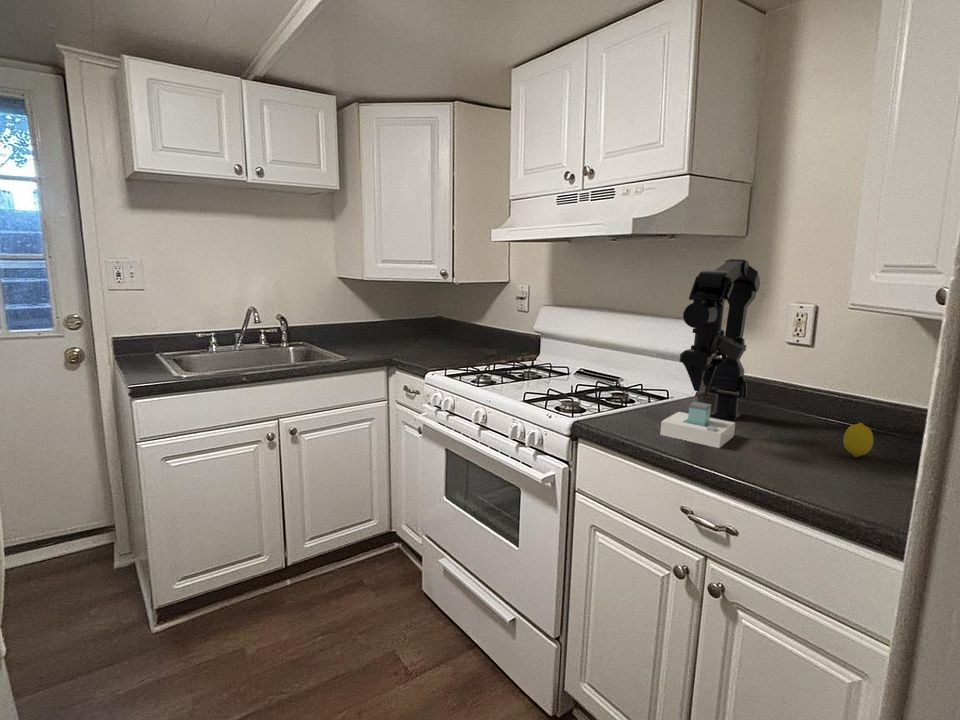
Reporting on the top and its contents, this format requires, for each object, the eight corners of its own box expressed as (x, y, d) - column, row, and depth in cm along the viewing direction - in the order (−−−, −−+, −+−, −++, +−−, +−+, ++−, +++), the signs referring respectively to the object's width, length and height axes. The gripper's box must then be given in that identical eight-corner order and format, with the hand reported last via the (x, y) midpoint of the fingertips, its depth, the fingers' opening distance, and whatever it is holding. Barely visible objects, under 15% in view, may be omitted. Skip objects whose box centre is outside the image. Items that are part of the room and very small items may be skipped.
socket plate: (677, 424, 146) (678, 409, 145) (733, 436, 138) (735, 420, 137) (660, 434, 137) (661, 418, 136) (719, 448, 128) (721, 431, 128)
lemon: (865, 454, 127) (871, 421, 126) (873, 463, 122) (879, 428, 120) (838, 451, 129) (843, 418, 127) (844, 459, 124) (850, 424, 122)
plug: (691, 432, 140) (694, 401, 139) (707, 435, 138) (711, 404, 136) (686, 435, 137) (689, 404, 135) (702, 439, 135) (706, 407, 133)
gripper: (733, 331, 120) (725, 401, 123) (755, 325, 134) (747, 388, 137) (682, 326, 127) (675, 392, 130) (707, 321, 141) (701, 380, 144)
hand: (701, 388), depth 135 cm, fingers open, 7 cm apart
